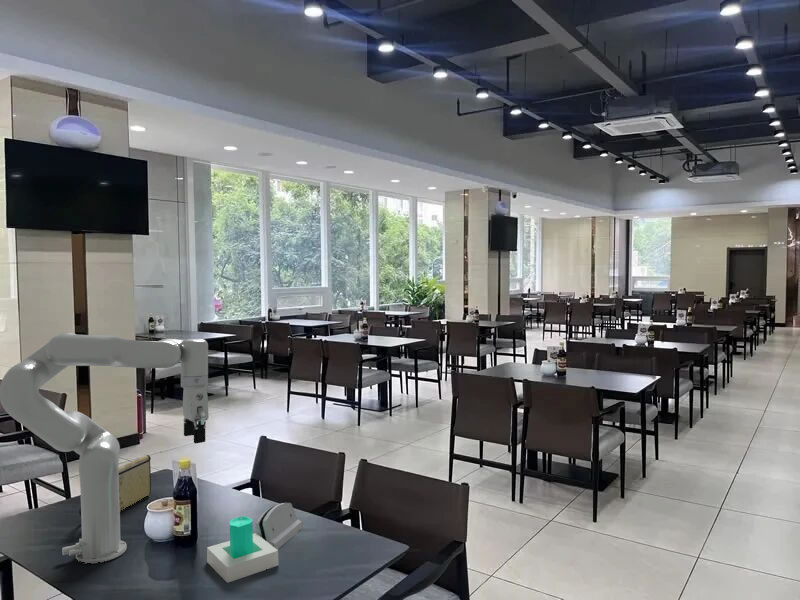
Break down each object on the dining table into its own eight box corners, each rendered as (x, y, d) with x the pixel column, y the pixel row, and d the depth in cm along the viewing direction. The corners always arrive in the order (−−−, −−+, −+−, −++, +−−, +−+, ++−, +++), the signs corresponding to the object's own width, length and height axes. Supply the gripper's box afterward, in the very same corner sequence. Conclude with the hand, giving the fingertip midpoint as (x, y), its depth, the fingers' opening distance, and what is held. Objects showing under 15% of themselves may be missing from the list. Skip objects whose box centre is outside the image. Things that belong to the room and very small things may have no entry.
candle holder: (227, 582, 143) (227, 567, 143) (207, 562, 154) (206, 547, 154) (278, 565, 152) (278, 550, 152) (255, 546, 163) (255, 533, 163)
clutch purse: (137, 493, 207) (136, 452, 206) (154, 495, 205) (153, 453, 205) (72, 528, 178) (71, 480, 177) (92, 530, 176) (90, 481, 176)
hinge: (276, 550, 161) (265, 516, 162) (262, 554, 162) (251, 519, 163) (304, 526, 177) (293, 495, 177) (291, 530, 178) (281, 498, 179)
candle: (232, 555, 156) (231, 511, 156) (255, 554, 157) (254, 510, 156) (227, 565, 150) (226, 520, 150) (251, 564, 151) (250, 519, 150)
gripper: (216, 384, 164) (216, 443, 165) (198, 376, 178) (198, 431, 178) (190, 386, 160) (190, 447, 160) (173, 378, 174) (173, 434, 174)
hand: (194, 438), depth 169 cm, fingers open, 9 cm apart
